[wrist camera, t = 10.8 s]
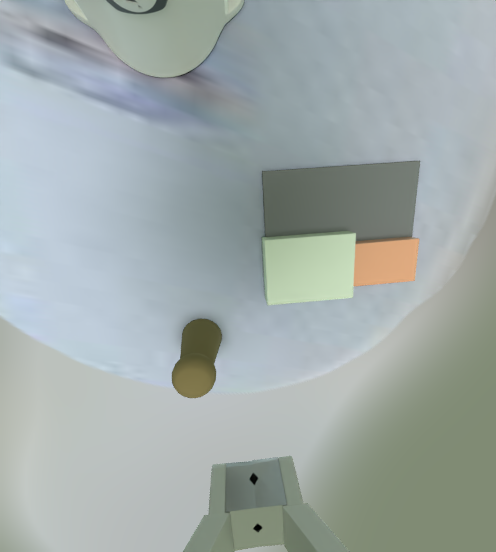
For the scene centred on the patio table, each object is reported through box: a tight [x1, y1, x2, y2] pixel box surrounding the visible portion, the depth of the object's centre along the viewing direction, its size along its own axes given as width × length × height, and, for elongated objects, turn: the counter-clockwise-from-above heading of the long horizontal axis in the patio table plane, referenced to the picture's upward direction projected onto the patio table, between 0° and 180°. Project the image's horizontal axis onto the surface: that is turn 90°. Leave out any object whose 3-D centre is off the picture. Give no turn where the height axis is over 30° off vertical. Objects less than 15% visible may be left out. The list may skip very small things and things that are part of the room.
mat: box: [262, 161, 420, 241], centre depth 37 cm, size 16×21×1 cm
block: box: [353, 237, 419, 286], centre depth 37 cm, size 6×9×2 cm, turn 94°
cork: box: [172, 319, 222, 398], centre depth 35 cm, size 6×6×11 cm
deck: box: [262, 231, 356, 305], centre depth 37 cm, size 9×12×3 cm
